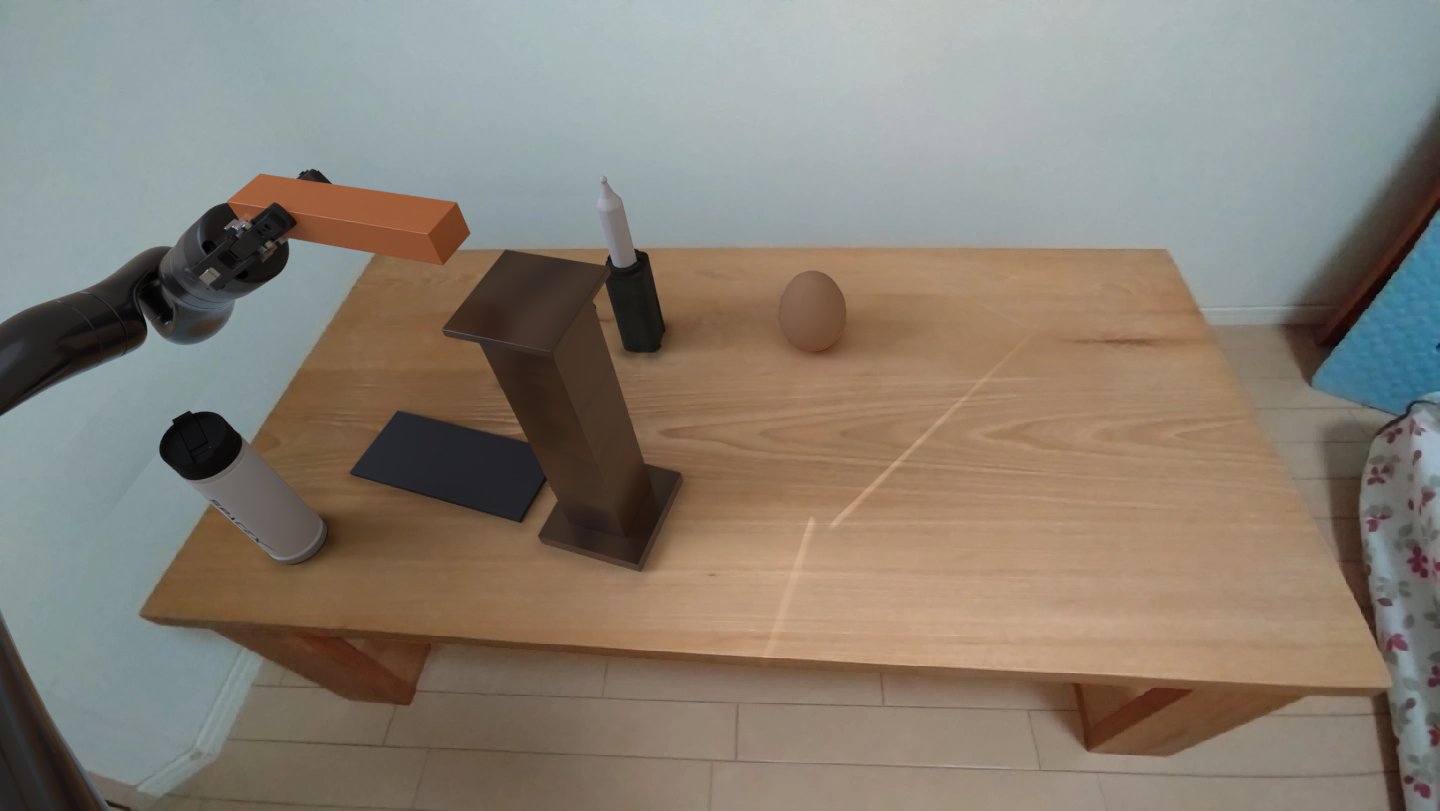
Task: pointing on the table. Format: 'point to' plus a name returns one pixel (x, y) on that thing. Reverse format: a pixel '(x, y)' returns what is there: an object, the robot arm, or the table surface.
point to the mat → (454, 465)
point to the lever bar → (359, 217)
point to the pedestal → (568, 403)
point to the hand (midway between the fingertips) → (302, 197)
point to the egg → (812, 311)
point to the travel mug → (242, 486)
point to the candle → (629, 279)
